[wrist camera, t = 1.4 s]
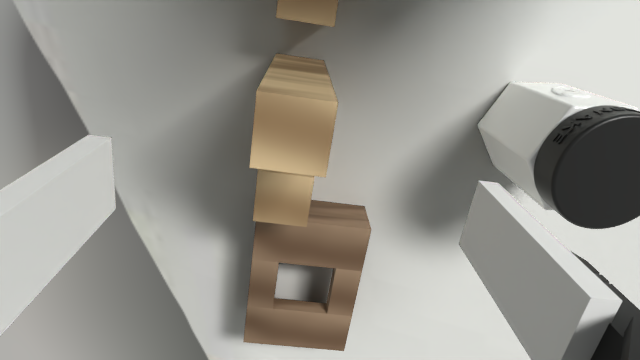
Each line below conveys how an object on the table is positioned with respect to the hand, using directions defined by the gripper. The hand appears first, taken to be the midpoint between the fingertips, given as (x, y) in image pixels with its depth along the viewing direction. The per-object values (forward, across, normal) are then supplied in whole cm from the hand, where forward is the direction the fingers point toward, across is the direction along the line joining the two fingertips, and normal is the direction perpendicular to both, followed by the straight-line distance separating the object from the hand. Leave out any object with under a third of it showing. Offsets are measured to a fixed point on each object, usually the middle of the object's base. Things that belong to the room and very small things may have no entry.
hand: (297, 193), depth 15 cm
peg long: (+22, 0, 0) cm, 23 cm away
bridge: (+22, +2, -18) cm, 29 cm away
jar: (+23, +21, -1) cm, 31 cm away
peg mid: (+22, 0, -7) cm, 24 cm away
